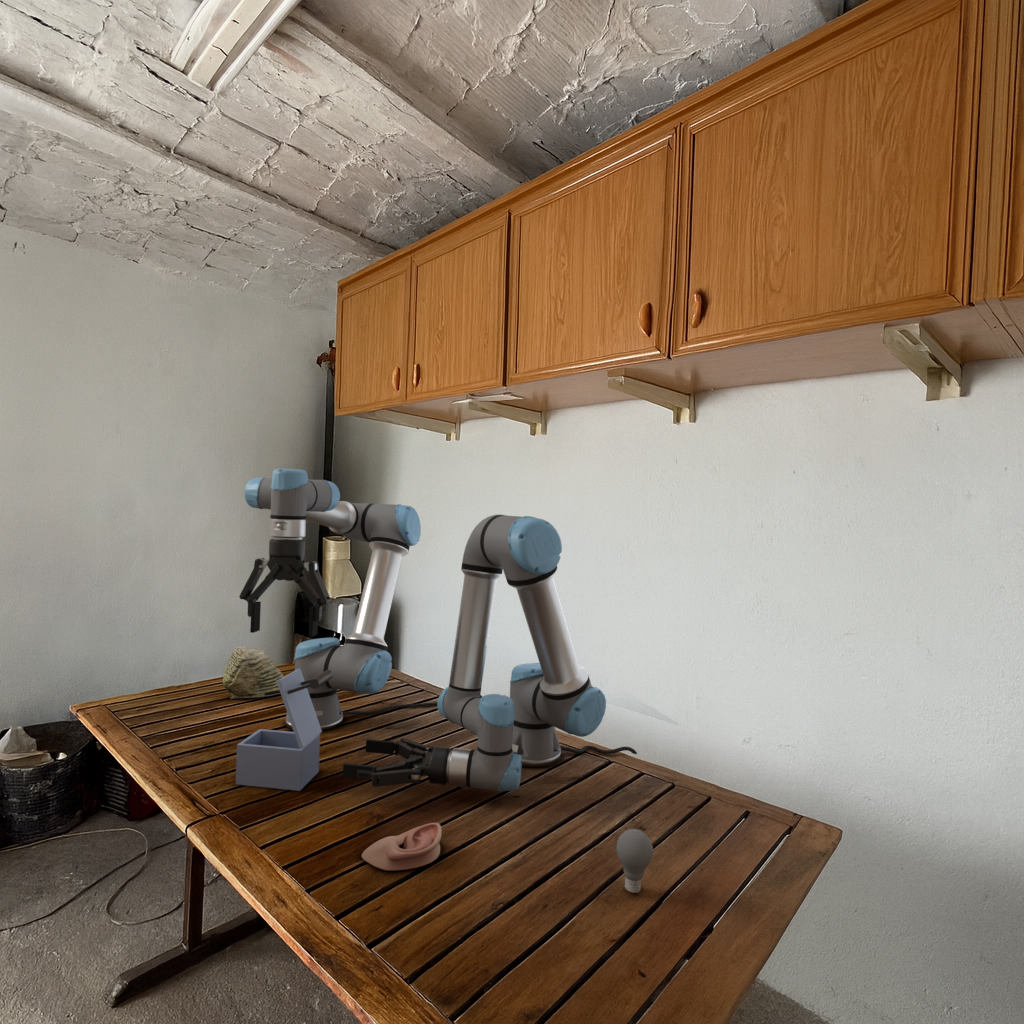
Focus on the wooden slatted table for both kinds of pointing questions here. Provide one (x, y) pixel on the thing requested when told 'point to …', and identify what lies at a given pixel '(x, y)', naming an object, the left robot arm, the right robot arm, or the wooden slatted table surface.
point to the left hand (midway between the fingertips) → (283, 633)
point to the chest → (276, 760)
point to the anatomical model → (406, 849)
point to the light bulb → (634, 857)
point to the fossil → (251, 674)
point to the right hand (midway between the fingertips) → (355, 757)
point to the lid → (302, 704)
